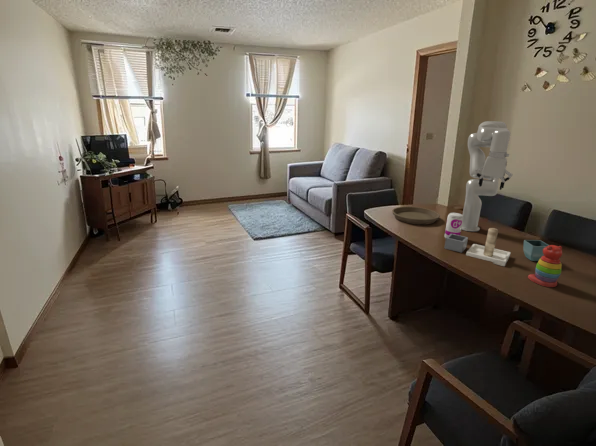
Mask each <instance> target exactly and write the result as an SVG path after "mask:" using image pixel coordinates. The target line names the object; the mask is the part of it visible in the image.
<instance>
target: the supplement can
mask: <svg viewBox="0 0 596 446" xmlns="http://www.w3.org/2000/svg"><path fill="white" fill-rule="evenodd" d="M462 215H463V213H462V214H461V213H459V212H449V213H448V215H447V219H446V225H445V231H444V236H443V237H444V239H446V238H447V237H448V236H449V235H450V234H456V235H460V236H461V232H462V229H461V228H462V222H463V216H462Z"/></svg>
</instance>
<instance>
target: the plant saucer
mask: <svg viewBox="0 0 596 446" xmlns="http://www.w3.org/2000/svg"><path fill="white" fill-rule="evenodd" d="M391 212H392V215H393V216H394V217H395V219H396V220H398V221H400V222H402V223H406V224H412V225H429V224H431V225H432V224H433V223H435V222H436V221H438V220H439V219H440V216H441V215H440V213H438V212H437V211H435V210H432V209H430V208H425V207H419V206H398V207H394V208H393V209H391Z"/></svg>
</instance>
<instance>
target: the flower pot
mask: <svg viewBox="0 0 596 446" xmlns="http://www.w3.org/2000/svg"><path fill="white" fill-rule="evenodd" d="M549 245H550V244H548V243H546V242H544V241H542V240H539V239H524V240H523V250H522V251H523V253H524V256H525V258H527V259H528V260H530V261H532V262H533V261H534V262H538V261H539V259H540V258H541V257H542V256H544V254H543V249H544V248H545V247H547V246H549Z"/></svg>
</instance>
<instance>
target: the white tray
mask: <svg viewBox="0 0 596 446" xmlns="http://www.w3.org/2000/svg"><path fill="white" fill-rule="evenodd" d="M484 248H485V245H481V244H477V243H473V244H472V245H471V246H470V247H469V249H467V251H466V253H465V256H467V257H472V258H474V259H479V260H483V261H487V262H492V264H493V265H497V266H501V267H505V266H506V265H507V262H508V260H509V259H510V256H511V251H506V250H503V249H500V248H499V249H498V248H494V252H493V256H492V257H489V256H485V255H484V254H483V253H484Z"/></svg>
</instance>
